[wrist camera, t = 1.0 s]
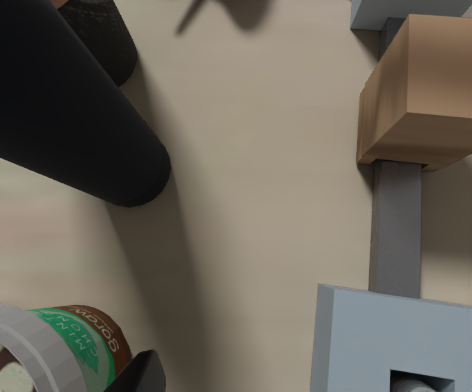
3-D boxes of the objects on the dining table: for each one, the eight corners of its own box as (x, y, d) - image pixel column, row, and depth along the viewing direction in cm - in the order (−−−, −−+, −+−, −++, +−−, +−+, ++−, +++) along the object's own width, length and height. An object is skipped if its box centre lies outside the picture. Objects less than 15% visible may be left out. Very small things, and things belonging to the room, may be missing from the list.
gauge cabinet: (466, 433, 19) (528, 483, 15) (308, 404, 20) (323, 444, 16) (464, 304, 21) (519, 316, 17) (318, 283, 22) (334, 289, 18)
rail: (408, 296, 21) (419, 299, 20) (368, 290, 22) (376, 293, 20) (413, 33, 26) (423, 19, 24) (380, 30, 26) (387, 17, 25)
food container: (180, 335, 22) (121, 395, 12) (140, 420, 21) (39, 561, 11) (44, 260, 24) (-105, 260, 14) (0, 336, 23) (-194, 393, 13)
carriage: (434, 171, 23) (532, 123, 15) (354, 162, 23) (406, 112, 15) (435, 100, 24) (524, 21, 16) (358, 94, 25) (409, 13, 17)
